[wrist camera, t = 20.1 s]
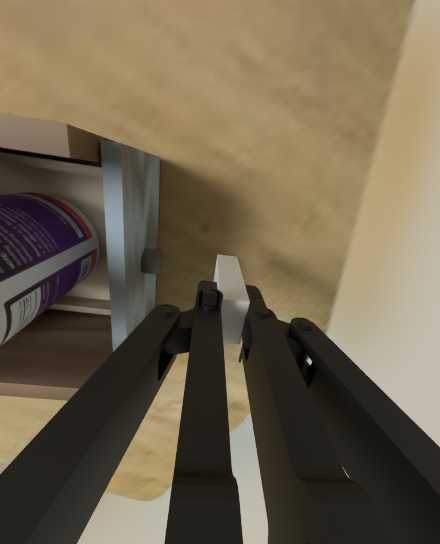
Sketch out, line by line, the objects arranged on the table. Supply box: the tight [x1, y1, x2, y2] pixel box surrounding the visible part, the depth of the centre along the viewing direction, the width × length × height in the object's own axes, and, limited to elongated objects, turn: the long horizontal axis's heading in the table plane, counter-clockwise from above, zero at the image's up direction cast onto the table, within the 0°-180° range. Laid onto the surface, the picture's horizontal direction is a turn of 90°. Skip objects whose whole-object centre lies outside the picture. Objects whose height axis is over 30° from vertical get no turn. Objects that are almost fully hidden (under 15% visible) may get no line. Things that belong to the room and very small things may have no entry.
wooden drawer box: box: [0, 113, 118, 401], centre depth 16 cm, size 16×14×11 cm
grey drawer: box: [0, 140, 162, 352], centre depth 17 cm, size 16×15×8 cm
